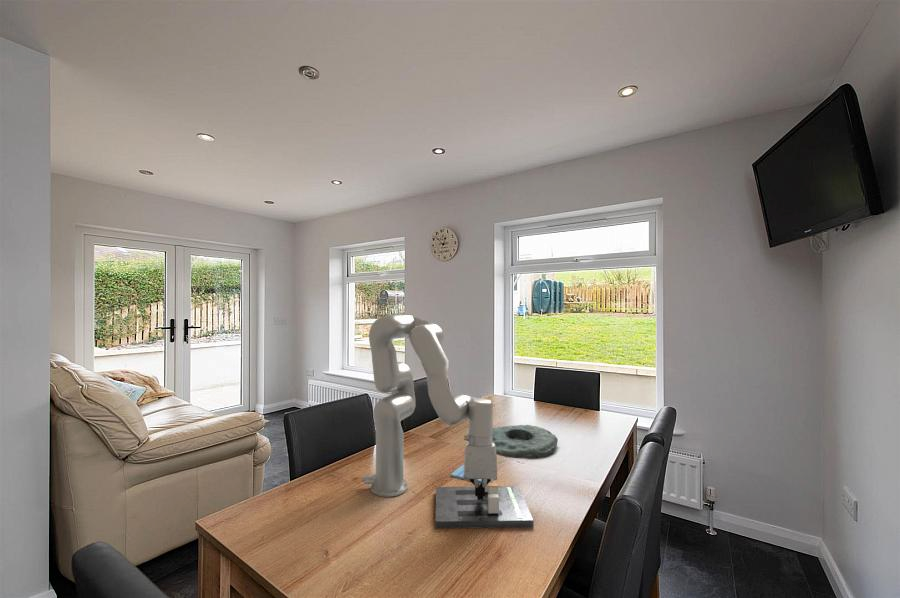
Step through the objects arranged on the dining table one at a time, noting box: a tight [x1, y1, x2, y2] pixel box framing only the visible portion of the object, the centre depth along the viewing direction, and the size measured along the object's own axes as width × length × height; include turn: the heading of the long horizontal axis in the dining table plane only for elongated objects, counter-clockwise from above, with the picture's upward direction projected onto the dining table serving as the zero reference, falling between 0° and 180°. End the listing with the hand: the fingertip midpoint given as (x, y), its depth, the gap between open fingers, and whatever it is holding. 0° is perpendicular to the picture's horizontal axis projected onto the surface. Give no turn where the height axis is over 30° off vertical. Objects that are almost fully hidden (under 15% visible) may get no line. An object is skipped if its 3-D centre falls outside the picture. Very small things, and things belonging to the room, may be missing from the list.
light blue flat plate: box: [450, 463, 482, 484], centre depth 148 cm, size 14×12×1 cm
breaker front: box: [488, 494, 499, 513], centre depth 115 cm, size 3×2×5 cm, turn 92°
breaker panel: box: [435, 485, 534, 530], centre depth 122 cm, size 28×21×2 cm
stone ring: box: [493, 424, 559, 459], centre depth 180 cm, size 34×34×5 cm
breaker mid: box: [488, 482, 499, 494], centre depth 122 cm, size 3×2×5 cm, turn 92°
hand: (479, 498), depth 122 cm, fingers closed
